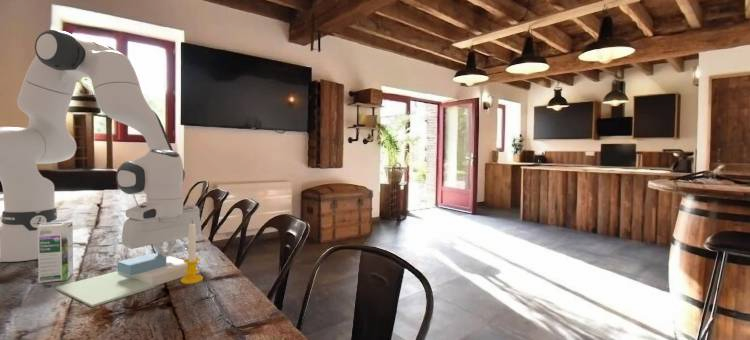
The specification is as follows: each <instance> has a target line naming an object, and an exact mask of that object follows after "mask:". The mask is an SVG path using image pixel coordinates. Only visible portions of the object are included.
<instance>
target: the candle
mask: <svg viewBox="0 0 750 340" xmlns="http://www.w3.org/2000/svg"><path fill="white" fill-rule="evenodd" d="M196 237H197V235H196V227H195V224H193V222H192V224H191V223H190V224H189V237H188V258H185V259H183V260H184V262H185V263H187V264H188V266H187V269H188V270H187V271H185V274H187V275H188V276H184V277H181V278H180V283H182V284H184V285H185V284H187V285H190V284H197V283H199V282H202V280H203V279H204V277H203V276H202V275H201V274H199V272H200V270H199V269H197V267H198V266H197V263H198V262H199V261H201V258H199V257H197V245H196V244H197V243H196V242H197V238H196Z"/></svg>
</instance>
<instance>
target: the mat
mask: <svg viewBox="0 0 750 340" xmlns="http://www.w3.org/2000/svg"><path fill="white" fill-rule="evenodd" d="M154 288H155V286H154V285H151V284H149V283H146V282H143V281H141V280H138V279H135V278H133V277H130V276H127V275H125V274H122V273H119V272H118V270H117V271H112V272H108V273H104V274H101V275H96V276H93V277H89V278H85V279H81V280H77V281H72V282H70V283H65V284H62V285H57V286H55V288H54V289H55V290H56V291H59V292H61V293H63V294H65V295H67V296H69V297H71V298H72V299H75V300H77V301H79V302H82V303H83V304H85V305H87V306H89V307H92V308H94V307H97V306H101V305H103V304H107V303H111V302H114V301H116V300H119V299H123V298H125V297H128V296H131V295H135V294H138V293H141V292H144V291H147V290H150V289H154Z"/></svg>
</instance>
